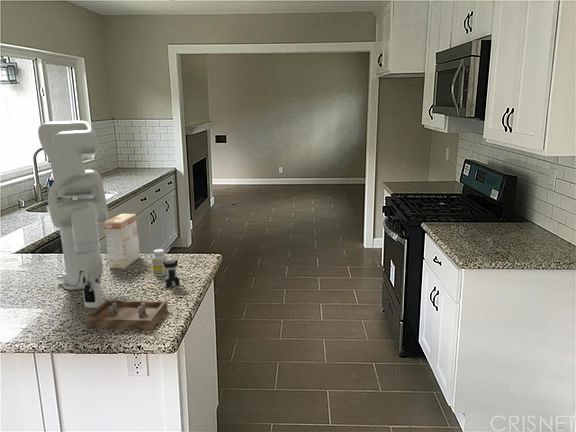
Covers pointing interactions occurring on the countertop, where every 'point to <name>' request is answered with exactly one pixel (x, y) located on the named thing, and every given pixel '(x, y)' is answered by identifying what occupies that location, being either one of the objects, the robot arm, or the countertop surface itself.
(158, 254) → the supplement bottle
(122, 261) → the coffeecake box
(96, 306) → the eye dropper bottle
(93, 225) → the robot arm
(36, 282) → the countertop surface
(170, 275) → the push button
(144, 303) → the pin tray
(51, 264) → the countertop surface
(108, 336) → the countertop surface
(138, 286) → the countertop surface
